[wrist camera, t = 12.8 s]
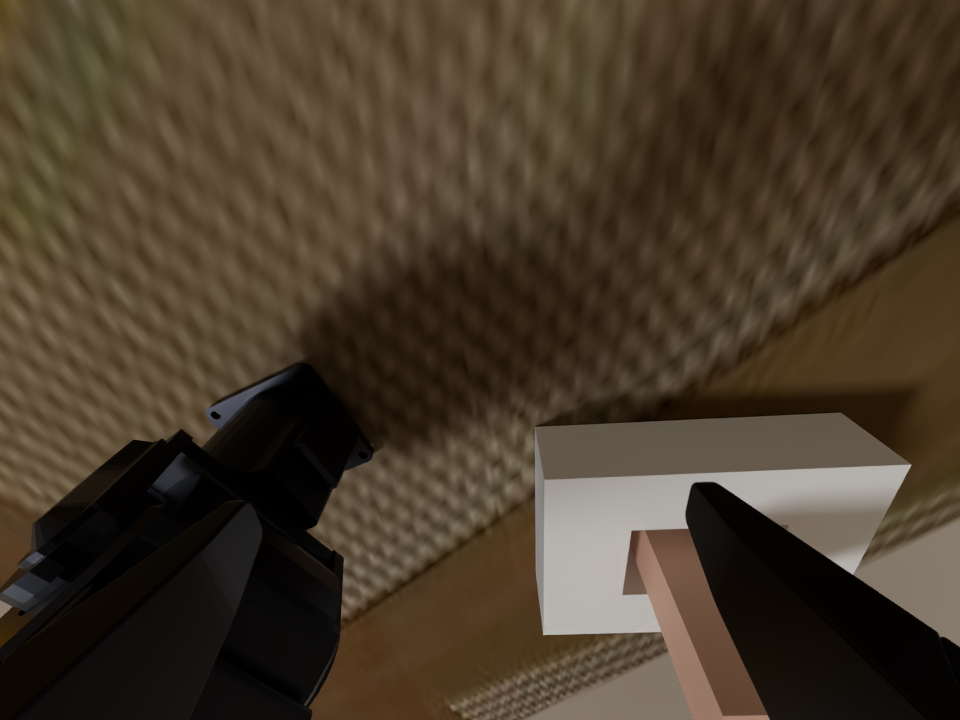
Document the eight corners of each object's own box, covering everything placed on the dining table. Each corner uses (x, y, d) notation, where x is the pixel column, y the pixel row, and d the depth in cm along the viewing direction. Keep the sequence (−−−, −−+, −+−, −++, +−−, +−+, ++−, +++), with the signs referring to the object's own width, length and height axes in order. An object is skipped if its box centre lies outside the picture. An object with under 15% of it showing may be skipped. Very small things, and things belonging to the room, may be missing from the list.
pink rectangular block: (625, 534, 24) (706, 755, 16) (630, 497, 23) (722, 716, 14) (720, 531, 24) (857, 753, 15) (730, 493, 23) (888, 712, 14)
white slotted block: (535, 572, 28) (543, 634, 24) (534, 427, 22) (544, 479, 19) (780, 564, 27) (824, 627, 23) (840, 412, 22) (911, 464, 18)
